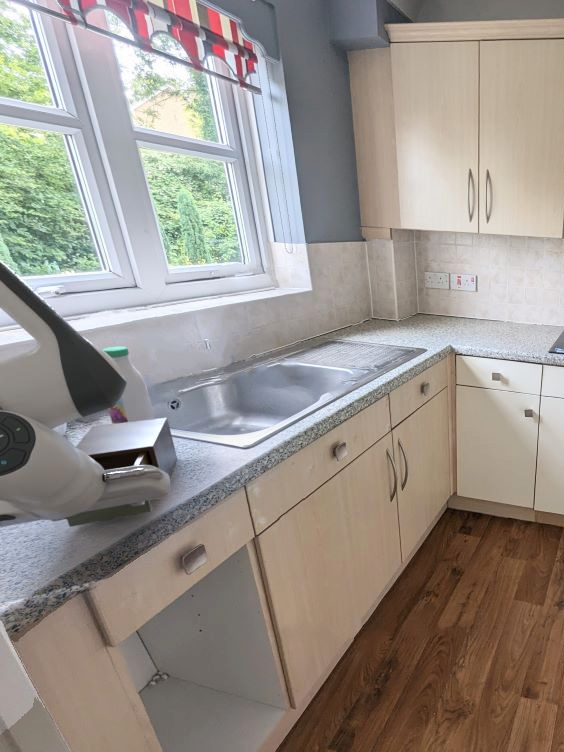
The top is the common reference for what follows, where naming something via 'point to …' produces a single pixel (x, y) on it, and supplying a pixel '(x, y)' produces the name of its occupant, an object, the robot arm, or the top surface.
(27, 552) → the top surface
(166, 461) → the cabinet
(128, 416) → the milk bottle
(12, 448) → the robot arm
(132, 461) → the drawer
